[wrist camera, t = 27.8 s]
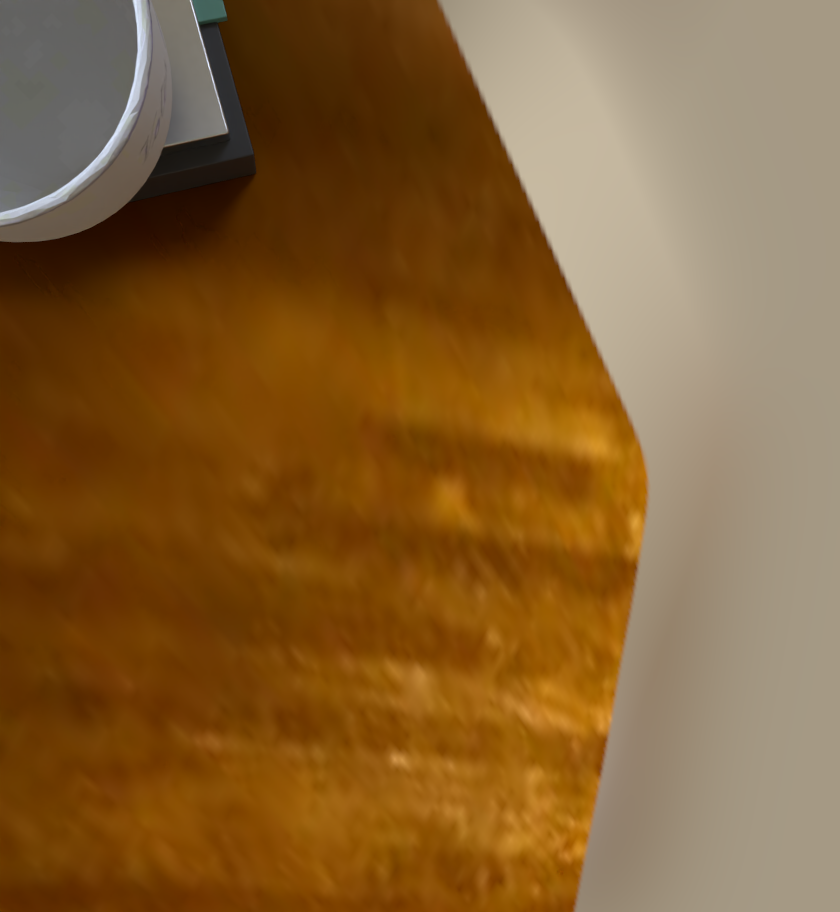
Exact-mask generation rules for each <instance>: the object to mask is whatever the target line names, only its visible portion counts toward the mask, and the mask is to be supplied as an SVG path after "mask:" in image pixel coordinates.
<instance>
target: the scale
mask: <svg viewBox="0 0 840 912" xmlns="http://www.w3.org/2000/svg"><path fill="white" fill-rule="evenodd" d="M151 2H152V5H153V7H154V10H155V13H156V15H157V18H158V21H159V24H160V27H161V30H162V33H163V37H164V41H165V45H166V49H167V53H168V58H169V62H170V69H171V78H172V109H171V119H170V125H169V130H168V134H167V137H166V141H165V144H164V147H163V149H162V152H161V155H160V157H159V159H158V161H157V163H156V166H155V168H154V169H153V171H152V172H151V174H150V175H149V177H148V179H147V180H146V182H145V183H144V185H143V186H142V187H141V188H140V190H139V191H138V192H137V193H136V194H135V195H134V196H133V197H132V199H131V200H130V201H129V202H133V201H137V200H142V199H146V198H150V197H155V196H159V195H164V194H168V193H172V192H177V191H181V190H186V189H190V188H195V187H199V186H203V185H208V184H212V183H217V182H221V181H225V180H230V179H234V178H239V177H243V176H247V175H252V174H255V173H256V166H255V158H254V152H253V149H252V145H251V141H250V138H249V134H248V131H247V127H246V123H245V120H244V116H243V113H242V109H241V105H240V102H239V98H238V95H237V91H236V87H235V84H234V80H233V77H232V73H231V69H230V66H229V62H228V59H227V55H226V51H225V48H224V44H223V41H222V37H221V33H220V30H219V26H218V23H219V22H224V21H227V14H226V11H225V7H224V3H223V0H151Z"/></svg>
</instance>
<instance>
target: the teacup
mask: <svg viewBox="0 0 840 912" xmlns="http://www.w3.org/2000/svg"><path fill="white" fill-rule="evenodd" d="M171 109H172V78H171V69H170V62H169V58H168V53H167V49H166V45H165V41H164V37H163V33H162V30H161V27H160V24H159V21H158V18H157V15H156V13H155V10H154V7H153V5H152V2H151V0H0V241H4V242H38V241H45V240H52V239H58V238H62V237H65V236H69V235H72V234H76V233H79V232H81V231H84V230H86V229H89V228H91V227H93V226H95V225H96V224H98V223H100V222H102V221H104V220H105V219H107V218H108V217H110V216H111V215H113V214H114V213H116V212H117V211H118V210H120V209H121V208H122V207H123V206H124V205H125V204H127V203H128V202H129V201H130V200H131V199H132V197H133V196H134V195H135V194H136V193H137V192H138V191H139V190H140V188H141V187H142V186H143V185H144V183H145V182H146V180H147V179H148V177H149V175H150V174H151V172H152V171H153V169H154V168H155V166H156V163H157V161H158V159H159V157H160V155H161V152H162V149H163V147H164V144H165V141H166V137H167V134H168V130H169V125H170V119H171Z"/></svg>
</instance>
